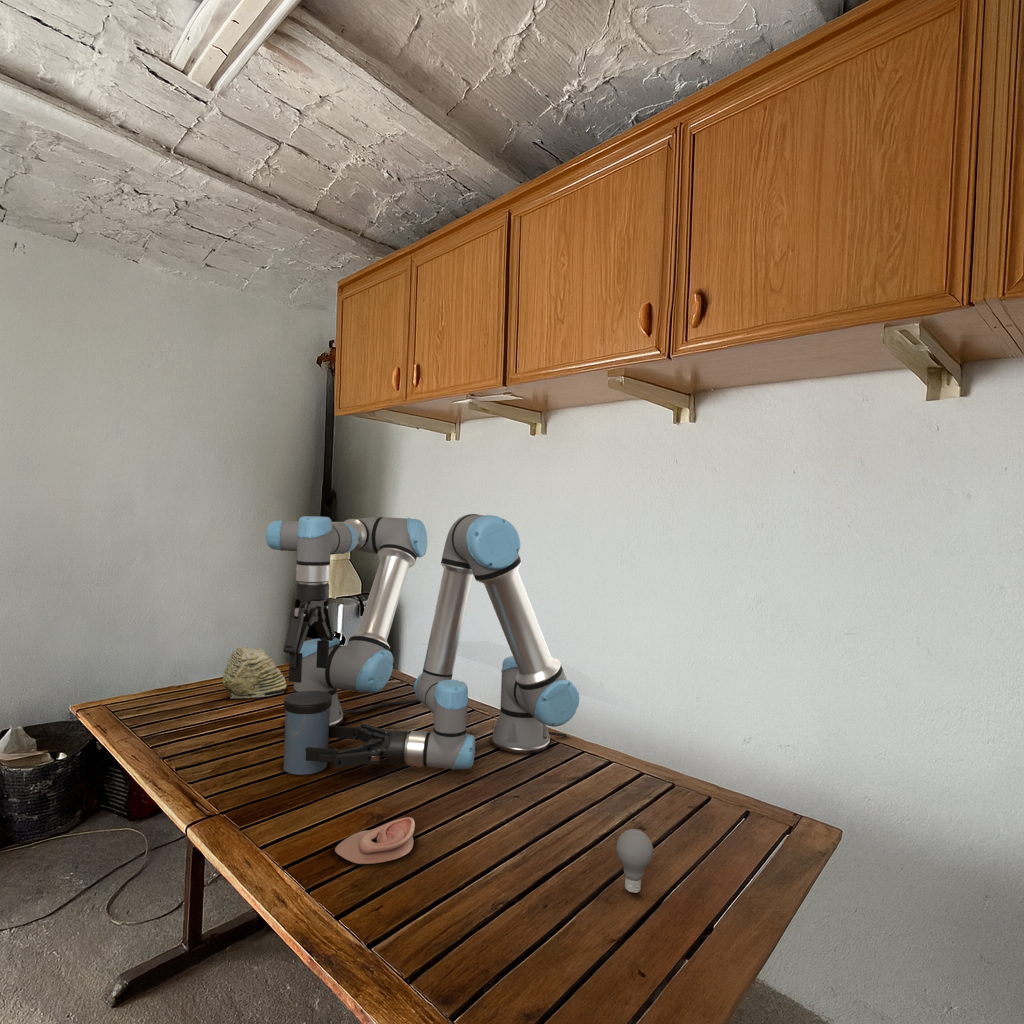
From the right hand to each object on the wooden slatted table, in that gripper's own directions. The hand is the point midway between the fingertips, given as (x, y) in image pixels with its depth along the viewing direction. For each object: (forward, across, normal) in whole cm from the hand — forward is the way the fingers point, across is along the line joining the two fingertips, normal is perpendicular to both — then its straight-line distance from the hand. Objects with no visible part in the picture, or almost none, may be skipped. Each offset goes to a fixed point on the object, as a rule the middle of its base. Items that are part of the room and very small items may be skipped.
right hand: (317, 742), depth 147 cm
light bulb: (-68, -38, -6) cm, 78 cm away
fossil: (+38, +49, -6) cm, 62 cm away
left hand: (+3, +1, +15) cm, 16 cm away
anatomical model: (-23, -31, -6) cm, 39 cm away
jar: (+3, +1, -6) cm, 7 cm away
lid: (+3, +1, +10) cm, 10 cm away
